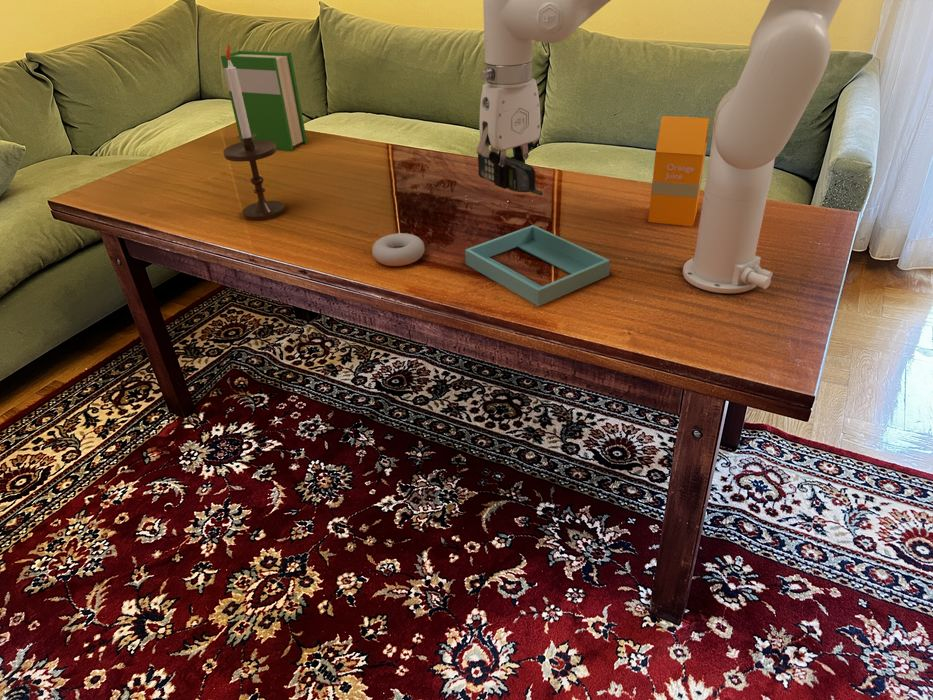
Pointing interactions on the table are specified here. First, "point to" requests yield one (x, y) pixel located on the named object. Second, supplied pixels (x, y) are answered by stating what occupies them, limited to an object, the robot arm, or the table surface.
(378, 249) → the donut
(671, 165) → the orange juice
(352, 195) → the table surface
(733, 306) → the table surface
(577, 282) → the rectangular frame
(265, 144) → the candlestick
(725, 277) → the robot arm
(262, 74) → the hardback book
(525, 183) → the mobile phone
